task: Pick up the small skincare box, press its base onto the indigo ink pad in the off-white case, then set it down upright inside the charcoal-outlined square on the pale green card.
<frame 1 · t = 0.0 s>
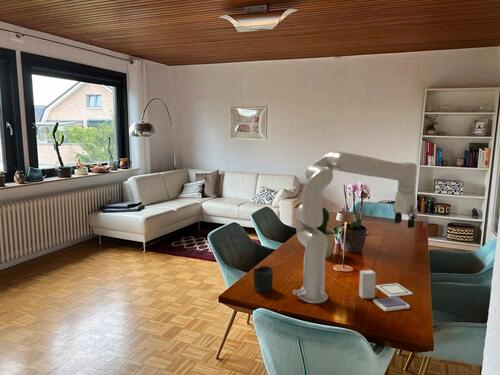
hand: (404, 225, 178), 31 cm above the table, fingers open, 9 cm apart
print card: (393, 290, 180), on the table
potted cactus: (321, 255, 231), on the table
ink pad: (391, 305, 165), on the table
skincare box: (366, 297, 173), on the table
pen holder: (263, 289, 181), on the table
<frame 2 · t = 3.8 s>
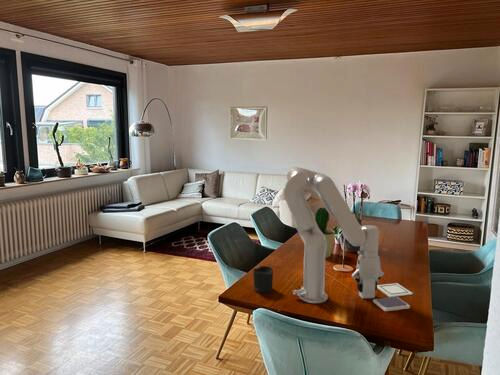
hand: (367, 290, 173), 3 cm above the table, fingers closed on skincare box, 6 cm apart
skincare box: (366, 297, 173), on the table, touching gripper
everything else where it was.
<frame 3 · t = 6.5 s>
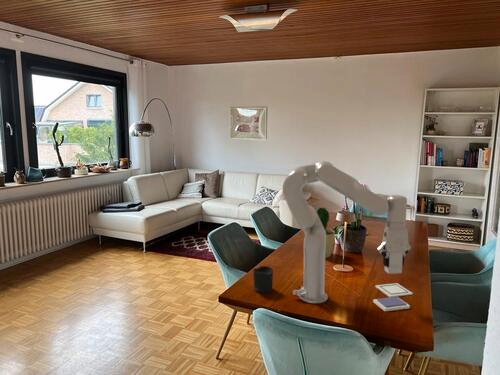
hand: (393, 265, 162), 18 cm above the table, fingers closed on skincare box, 6 cm apart
skincare box: (392, 272, 163), point 15 cm above the table, touching gripper
everything else where it was.
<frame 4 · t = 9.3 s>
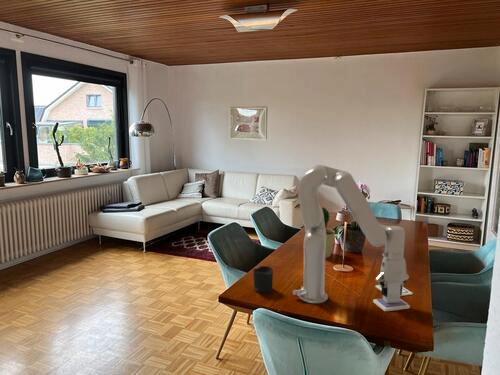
hand: (391, 294, 164), 5 cm above the table, fingers closed on skincare box, 6 cm apart
skincare box: (391, 301, 165), point 2 cm above the table, touching gripper
everything else where it was.
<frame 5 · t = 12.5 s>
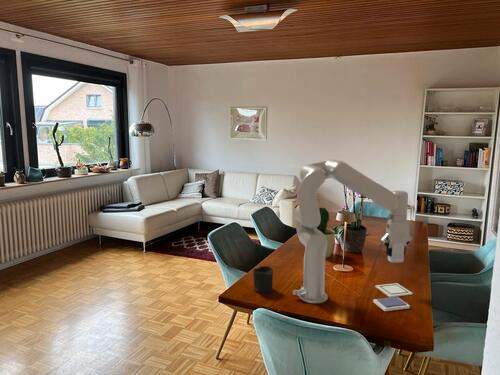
hand: (395, 254, 177), 18 cm above the table, fingers closed on skincare box, 6 cm apart
skincare box: (395, 261, 178), point 14 cm above the table, touching gripper
everything else where it was.
when the fingers open (4 cm above the table, at t = 15.3 s): skincare box stays where it is, resting on print card.
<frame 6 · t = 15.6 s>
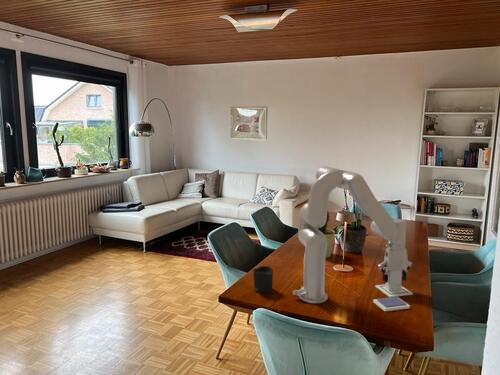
hand: (394, 280, 179), 5 cm above the table, fingers open, 9 cm apart
skincare box: (392, 289, 180), resting on print card
everything else where it was.
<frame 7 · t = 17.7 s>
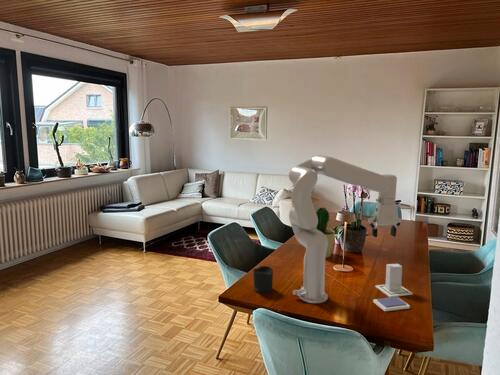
hand: (383, 236, 180), 25 cm above the table, fingers open, 9 cm apart
nothing on the table moved.
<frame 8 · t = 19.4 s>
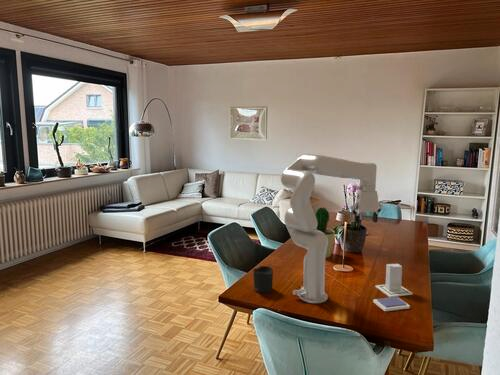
hand: (365, 222, 187), 30 cm above the table, fingers open, 9 cm apart
nothing on the table moved.
at the end: skincare box inside the target area on the print card (0.4 cm from its centre), point 0.4 cm above the print card's base; skincare box tilted 0°; the gripper is holding nothing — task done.
